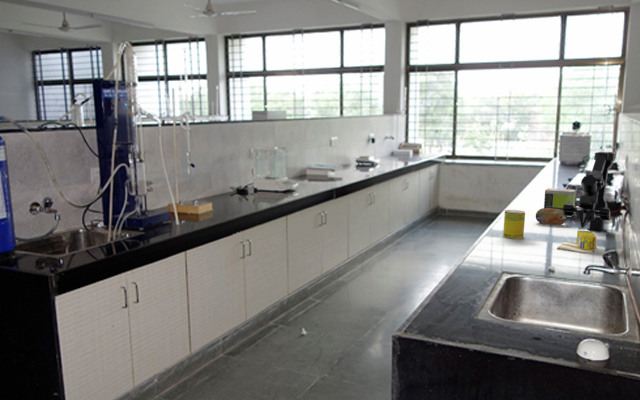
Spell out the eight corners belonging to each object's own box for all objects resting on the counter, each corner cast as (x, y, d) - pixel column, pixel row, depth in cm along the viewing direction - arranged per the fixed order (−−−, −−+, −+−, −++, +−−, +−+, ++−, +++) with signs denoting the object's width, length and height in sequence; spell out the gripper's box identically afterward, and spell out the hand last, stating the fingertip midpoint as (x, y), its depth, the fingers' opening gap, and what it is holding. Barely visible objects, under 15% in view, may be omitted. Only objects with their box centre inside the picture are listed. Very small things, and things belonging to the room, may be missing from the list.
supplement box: (591, 244, 229) (595, 250, 219) (576, 243, 231) (579, 249, 221) (592, 231, 228) (596, 236, 218) (577, 230, 230) (580, 235, 220)
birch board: (564, 242, 233) (564, 241, 233) (596, 247, 226) (596, 246, 225) (557, 248, 223) (557, 247, 223) (590, 254, 215) (590, 252, 215)
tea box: (574, 215, 296) (576, 189, 294) (571, 218, 288) (574, 191, 286) (545, 212, 304) (547, 187, 302) (542, 215, 296) (544, 189, 294)
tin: (535, 223, 274) (536, 207, 273) (535, 222, 277) (536, 206, 275) (566, 226, 268) (567, 210, 267) (566, 224, 271) (567, 208, 270)
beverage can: (524, 239, 240) (526, 213, 238) (504, 238, 242) (506, 213, 240) (521, 234, 249) (523, 210, 247) (501, 233, 250) (503, 209, 248)
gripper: (565, 186, 235) (557, 214, 229) (611, 190, 224) (604, 219, 218) (568, 201, 243) (560, 228, 236) (613, 205, 232) (606, 234, 225)
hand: (582, 227), depth 229 cm, fingers closed
